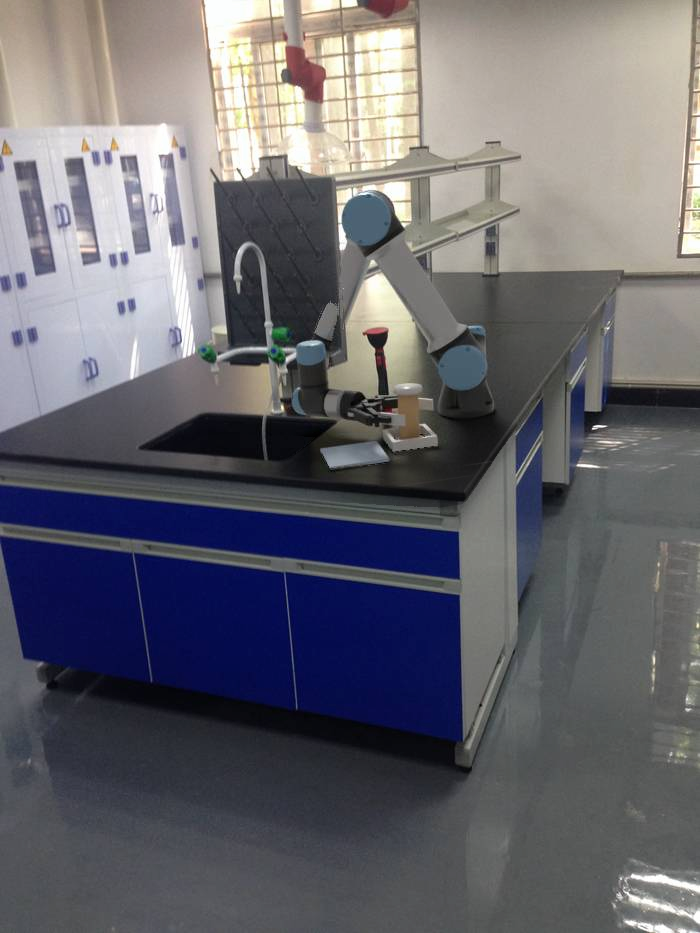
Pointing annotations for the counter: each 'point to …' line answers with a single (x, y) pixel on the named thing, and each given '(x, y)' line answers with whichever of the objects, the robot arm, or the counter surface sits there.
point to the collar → (411, 443)
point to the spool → (408, 409)
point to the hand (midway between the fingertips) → (419, 412)
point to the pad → (354, 454)
